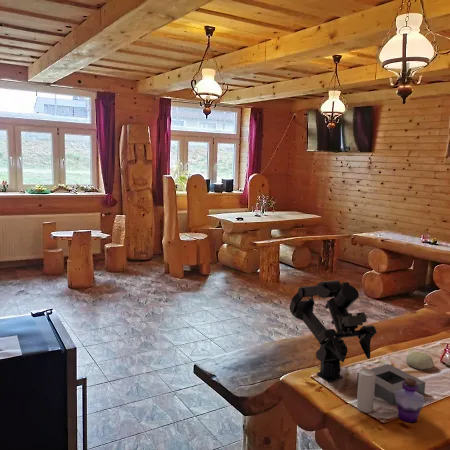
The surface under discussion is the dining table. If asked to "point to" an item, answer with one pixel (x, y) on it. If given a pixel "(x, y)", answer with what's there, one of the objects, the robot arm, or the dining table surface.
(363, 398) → the beverage can
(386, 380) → the block
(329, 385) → the dining table surface
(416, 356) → the sea urchin shell
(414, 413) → the potion bottle
